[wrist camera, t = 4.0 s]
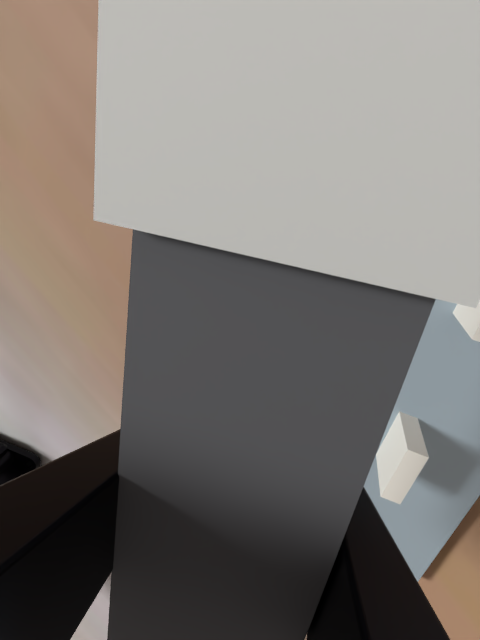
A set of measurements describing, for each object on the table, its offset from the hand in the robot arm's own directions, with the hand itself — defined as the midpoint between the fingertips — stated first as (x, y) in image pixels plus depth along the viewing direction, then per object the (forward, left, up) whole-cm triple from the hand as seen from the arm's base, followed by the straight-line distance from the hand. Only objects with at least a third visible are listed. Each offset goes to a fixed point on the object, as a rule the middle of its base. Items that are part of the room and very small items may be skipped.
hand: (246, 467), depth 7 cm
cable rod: (0, 0, -1) cm, 1 cm away
